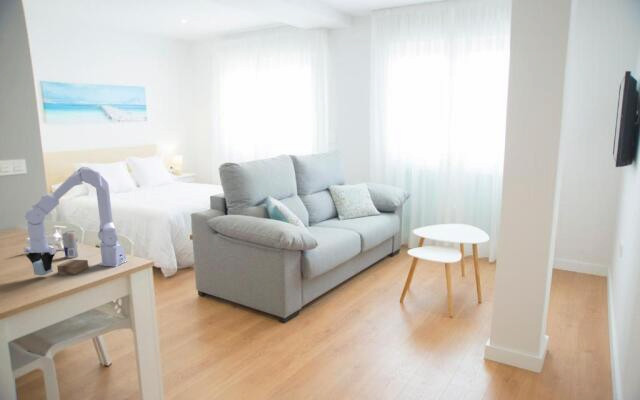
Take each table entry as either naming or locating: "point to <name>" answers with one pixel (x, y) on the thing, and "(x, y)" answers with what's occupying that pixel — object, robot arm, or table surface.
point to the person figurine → (52, 238)
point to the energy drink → (70, 244)
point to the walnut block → (72, 267)
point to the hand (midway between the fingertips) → (43, 269)
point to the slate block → (40, 268)
